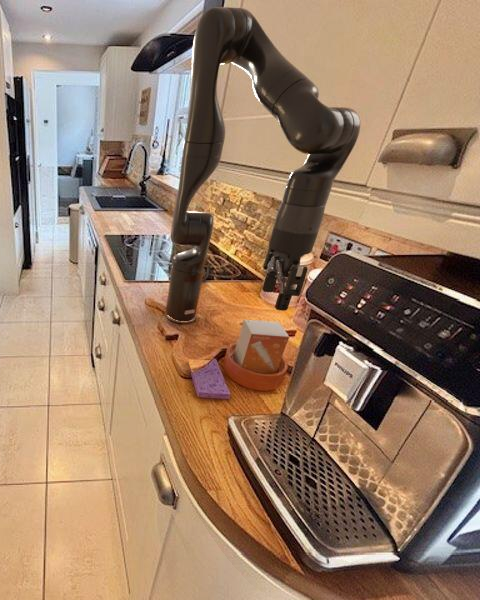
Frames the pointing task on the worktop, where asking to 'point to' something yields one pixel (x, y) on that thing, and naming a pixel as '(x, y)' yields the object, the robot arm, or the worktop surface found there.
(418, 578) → the worktop surface
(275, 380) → the bowl
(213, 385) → the sponge
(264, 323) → the small box
